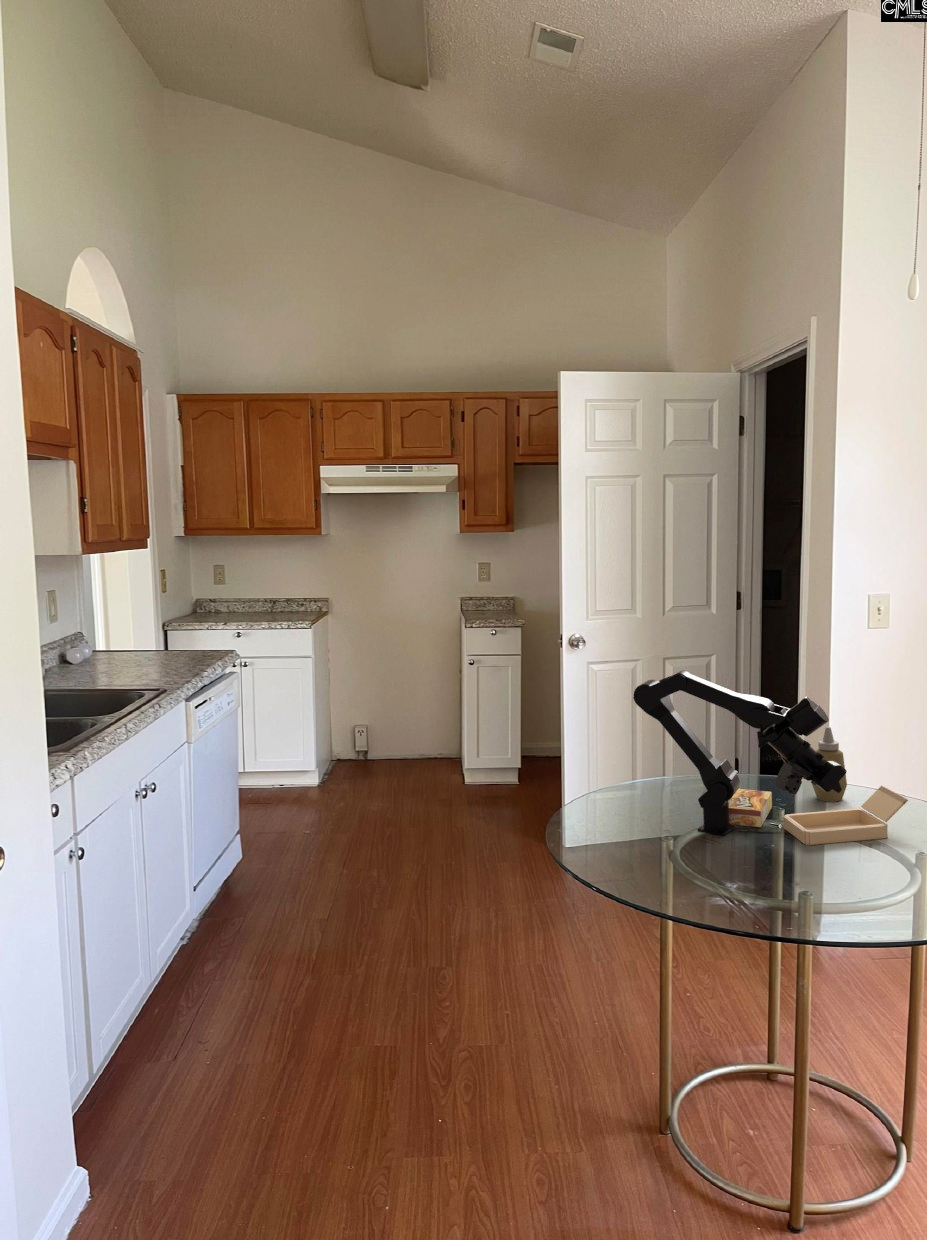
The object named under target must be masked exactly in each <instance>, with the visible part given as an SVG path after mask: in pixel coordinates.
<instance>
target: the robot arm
mask: <svg viewBox="0 0 927 1240" xmlns="http://www.w3.org/2000/svg"><path fill="white" fill-rule="evenodd" d="M679 691H682V692H684V693H686V694H688V695H691V696H694V697H696V698H697V699H700V700H703V701H706V702H708V703H710V704H712V705H715V706H718V707H720V708H722V709H723V710H724V709H725V710H727V711H729V712H730V713H732V714H733V715H734V716H736V717H737V719H738V720H740V721H742V722H744V723H745V724H746V725H748V726H750V727H752V728H753V729H758V730H757V731H756V740H757V742H756V743H757V747H758V748H759V749H761V748H763V747H764V746H765V745H767V744H768V745H769V746H770V747H772V748H773V749H774V750H775V751H776V752H777V753H778V754H780V755H779V756H780V759H781V760H782V761H783V765H782V766H781V767H780V769H779V772H778V774H777V775H776V778H775V781H774V786H776V788H779V790H781V791H783V792H786V793H788V794H789V795H791V794H792V795H794V796H795V795H797V793H798V792H799V791H800V788H801V786H802V783H803V781H802V780H803V779H805V780H806V781H808V782H809V781H810V783H811V785H812V784H814V785H816V786H818V787H819V788H821V789H822V790H824V791H825V792H829V791H831V789H832V790H834V791H836V792H837V793H840V792H841V791H842V788H841V786H840V783H839V781H840V780H841V779H842V777H843V776H844V775H845V774H846V775H847V769H846V768H845V769H844V768H843V767H842V766H841V765H840V764H838V763H836V762H834V761H826V760H824V759H823V758H824V757H823V756H822V755H821V754H820V753H818V752H816V750H815V749H814V747H812V744H811V743H810V742H809V741H807V740H805V739H803V737H802V736H805V737H808V736H810V735H811V734H813V733H814V732H816V731H817V730H818V729H820V728H821V727H823V726H824V725H826V724H827V723H829V721H830V719H829V717H828V715H827V713H826V711H825V710H824V709H823V708H822V707H821V705H818V704H817V703H816V702H815V701H813V700H811V698H809V697H808V696H805V697H803V698H802V699H801V700H800V701H799V702H798V703H796V704H795V705H794V706H793V707H791V708H789V707H785V706H781V705H778V704H775V703H774V702H773V701H772V700H771V699H770V698H766V697H763V696H760V695H755V694H746V693H745V694H744V693H739V692H736V691H733V690H731V689H729V688H726V687H724V686H722V685H718V684H715V683H713V682H711V681H709V680H706V679H704V678H701V677H699V676H697V675H694V674H691V672H688V671H687V670H680V671H678V672H676V673H675V674H672V675H669V676H666V677H664V678H662V679H659V680H658V679H648V680H647V681H644V682H643V683H641V684H639V685H638V686H637V687H635V689H634V691H633V697H632V698H633V701H634V703H635V704H636V705H637V706H638V707H639V708H640V709H641V710H642V711H643V712H644V713H646V714H647V715H649V716H650V717H651V718H653V719H655V720H657V721H658V722H659V723H660V724H661V725H662V727H663V728H664V729H665V731H666V732H667V733H668V734H669V736H670V737H671V738H672V740H674V741H675V743H676V744H677V746H678V747H679V748H680V749H681V750H682V751H683V753H684V754H685V755H686V757H687V758H688V759H689V760H690V761H691V762H692V764H693V765H694V766H695V768H696V769H697V771H698V773H699V775H700V777H701V782H702V784H703V786H704V788H705V790H704V791H703V793H702V794H701V795H700V796H699V797H698V799H697V801H698V803H699V806H700V808H701V809H702V815H703V818H702V819H703V824H702V825H700V826H699V827H697V831H698V832H702V833H708V834H713V835H719V836H726V835H727V834H729V833H730V832H731V831H733V830H734V829H735V828H736V825H735V824H729V803H728V800H730V799H731V798H732V797H733V795H734V794H735V793H736V791H737V790H738V789H740V784H741V780H740V777H739V776H738V774H739V771H738V770H736V769H734V768H733V766H732V765H731V763H730V762H729V760H728V759H727V758H725V759H724V760H723V761H720V760H719V759H717V758H716V757H714V756H713V754H712V753H711V752H710V750H708V748H707V747H706V746H705V745H704V743H703V742H702V741H701V740H700V739H699V737H698V736H697V735H696V734H695V732H694V731H693V730H692V729H691V727H689V725H688V724H687V722H686V721H685V719H683V717H682V716H681V715H680V714H679V713H678V712H677V711H676V709H675V707H674V705H673V702H672V698H671V695H673V694H674V693H677V692H679ZM769 725H770V726H769ZM766 727H767V728H766ZM763 728H766V729H764V730H761V731H759V730H760V729H763Z"/></svg>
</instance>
